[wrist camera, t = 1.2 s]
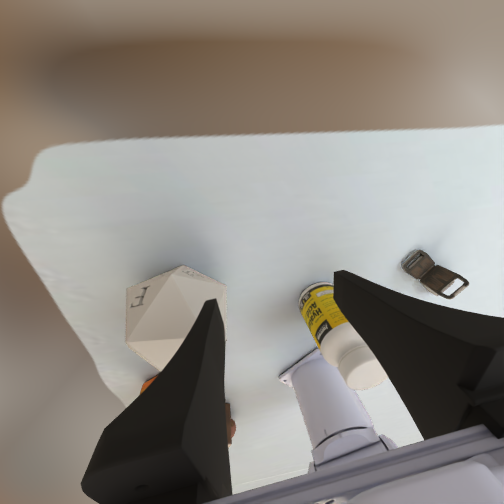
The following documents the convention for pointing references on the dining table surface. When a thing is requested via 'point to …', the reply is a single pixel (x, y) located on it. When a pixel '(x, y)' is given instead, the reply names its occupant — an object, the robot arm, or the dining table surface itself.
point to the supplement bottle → (339, 338)
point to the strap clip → (433, 275)
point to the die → (168, 312)
